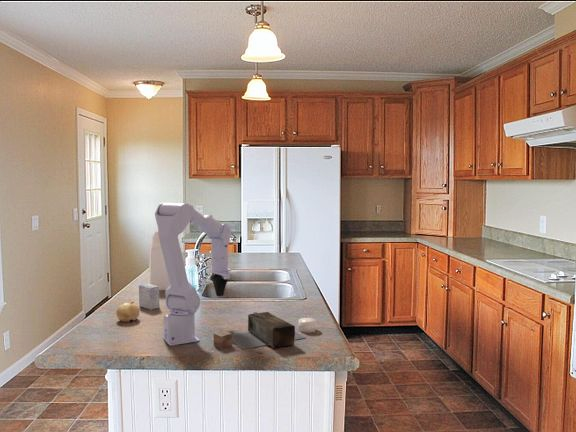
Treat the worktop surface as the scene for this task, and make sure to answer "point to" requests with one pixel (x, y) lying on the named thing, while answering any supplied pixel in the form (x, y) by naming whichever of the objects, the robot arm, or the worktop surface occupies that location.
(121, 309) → the onion
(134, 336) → the worktop surface
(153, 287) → the medicine box
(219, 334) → the walnut block
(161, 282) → the milk
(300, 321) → the cream egg shape
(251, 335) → the mat
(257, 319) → the beverage carton
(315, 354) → the worktop surface
